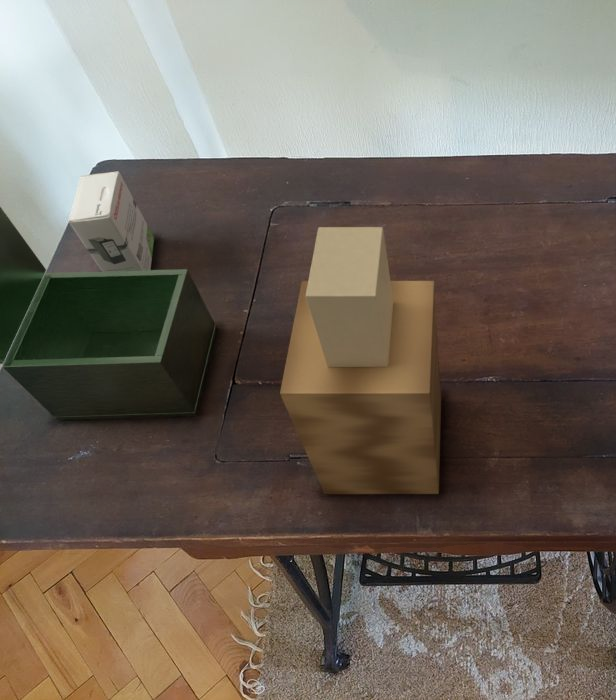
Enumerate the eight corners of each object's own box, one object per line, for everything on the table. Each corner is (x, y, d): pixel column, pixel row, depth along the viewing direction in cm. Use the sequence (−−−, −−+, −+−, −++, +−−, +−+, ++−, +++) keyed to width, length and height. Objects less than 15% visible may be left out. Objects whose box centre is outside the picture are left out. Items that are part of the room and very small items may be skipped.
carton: (327, 367, 53) (305, 296, 46) (337, 301, 57) (318, 226, 50) (388, 367, 53) (375, 296, 46) (393, 301, 57) (382, 226, 50)
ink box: (119, 242, 90) (77, 173, 80) (156, 237, 90) (119, 168, 81) (111, 288, 85) (65, 221, 75) (150, 283, 85) (110, 215, 76)
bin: (217, 328, 81) (187, 268, 72) (196, 416, 74) (160, 362, 65) (91, 331, 81) (45, 272, 72) (57, 420, 73) (1, 366, 64)
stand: (324, 494, 68) (279, 393, 52) (337, 396, 75) (301, 280, 59) (438, 494, 68) (429, 393, 52) (441, 396, 75) (434, 280, 59)
